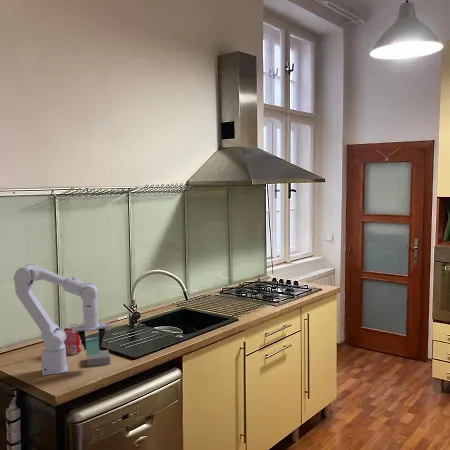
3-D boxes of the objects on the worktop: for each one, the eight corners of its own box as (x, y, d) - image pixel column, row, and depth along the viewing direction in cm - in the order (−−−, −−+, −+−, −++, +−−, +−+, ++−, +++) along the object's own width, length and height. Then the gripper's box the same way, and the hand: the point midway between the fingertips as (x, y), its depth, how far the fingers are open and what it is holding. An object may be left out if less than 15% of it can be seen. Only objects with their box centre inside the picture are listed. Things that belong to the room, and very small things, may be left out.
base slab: (87, 366, 205) (86, 359, 204) (86, 359, 213) (86, 352, 213) (110, 363, 207) (109, 356, 207) (108, 356, 216) (108, 349, 215)
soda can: (76, 349, 227) (75, 322, 226) (84, 352, 222) (83, 325, 221) (61, 353, 222) (60, 326, 221) (69, 357, 217) (68, 329, 216)
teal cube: (86, 355, 198) (85, 342, 198) (86, 350, 203) (85, 338, 203) (99, 353, 200) (98, 341, 199) (99, 349, 205) (98, 337, 204)
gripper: (71, 319, 194) (73, 353, 196) (110, 315, 198) (111, 349, 200) (71, 314, 201) (73, 348, 203) (109, 311, 205) (110, 343, 206)
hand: (92, 348), depth 202 cm, fingers closed on teal cube, 5 cm apart
